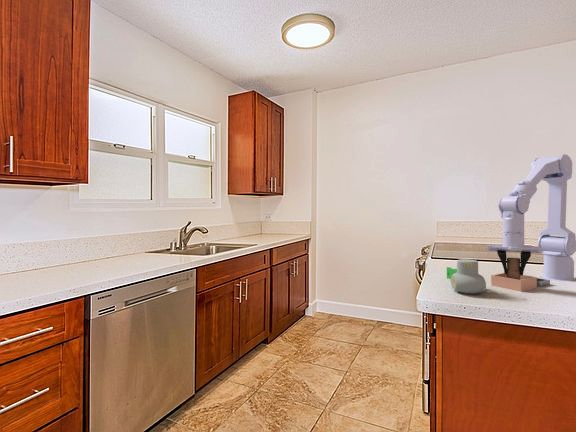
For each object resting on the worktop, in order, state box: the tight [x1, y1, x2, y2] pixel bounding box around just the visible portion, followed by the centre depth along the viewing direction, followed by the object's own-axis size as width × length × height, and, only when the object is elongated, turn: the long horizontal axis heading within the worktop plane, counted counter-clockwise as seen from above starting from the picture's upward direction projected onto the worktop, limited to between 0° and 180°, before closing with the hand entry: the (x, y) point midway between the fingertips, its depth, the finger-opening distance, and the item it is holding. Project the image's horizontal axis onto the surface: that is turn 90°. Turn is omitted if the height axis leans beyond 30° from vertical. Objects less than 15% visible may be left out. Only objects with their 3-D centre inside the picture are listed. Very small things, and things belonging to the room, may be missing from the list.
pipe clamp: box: [446, 266, 457, 280], centre depth 115 cm, size 11×4×5 cm, turn 173°
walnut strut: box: [506, 257, 521, 280], centre depth 105 cm, size 4×4×8 cm
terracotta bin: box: [490, 272, 538, 293], centre depth 105 cm, size 9×9×4 cm
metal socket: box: [537, 277, 551, 288], centre depth 108 cm, size 6×6×2 cm
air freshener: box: [450, 258, 487, 295], centre depth 102 cm, size 11×8×10 cm
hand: (513, 274), depth 105 cm, fingers closed on walnut strut, 4 cm apart
